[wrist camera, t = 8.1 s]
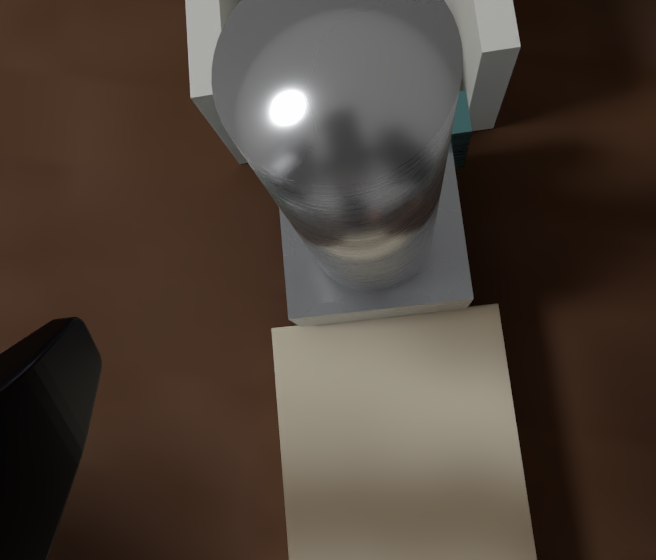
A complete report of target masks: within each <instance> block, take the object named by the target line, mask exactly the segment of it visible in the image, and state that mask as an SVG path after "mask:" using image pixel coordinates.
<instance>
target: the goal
mask: <svg viewBox="0 0 656 560" xmlns="http://www.w3.org/2000/svg"><path fill="white" fill-rule="evenodd" d="M240 1H241V0H185V3H186V22H187V40H188V59H189V77H190V96H191V99H192V100H193V102H194V103H195V105H196V106H197V107H198V109H199V110H200V111H201V113H202V114H203V115H204V117H205V118H206V119H207V121H208V122H209V123H210V125H211V126H212V127H213V129H214V130H215V132H216V133H217V134H218V136H219V137H220V138H221V140H222V141H223V142H224V144H225V145H226V146H227V148H228V149H229V150H230V152H231V153H232V154H233V156H234V157H235V158H236V160H237V161H238V163H239V164H244V163H248V162H247V161H246V159H245V158H244V156H243V155H242V153H241V152H240V151H239V149H238V148H237V146H236V145H235V143H234V142H233V141H232V139H231V138H230V136H229V134H228V133H227V131H226V130H225V128H224V126H223V124H222V122H221V120H220V117H219V115H218V113H217V110H216V106H215V102H214V99H213V92H212V84H211V77H212V62H213V55H214V51H215V48H216V44H217V41H218V38H219V36H220V33H221V31H222V29H223V26H224V24H225V23H226V21H227V19H228V18H229V16H230V14H231V12H232V11H233V10H234V8H235V7H236V6H237V5H238V3H239V2H240ZM444 1H445V2H446V4H447V6H448V7H449V9H450V11H451V13H452V14H453V17H454V19H455V22H456V24H457V27H458V29H459V34H460V38H461V43H462V52H463V69H462V79H461V84H460V90H459V91H462V90H466V93H467V100H468V106H469V113H470V120H471V126H472V131H478V130H485V129H492V128H494V125H495V122H496V119H497V116H498V113H499V110H500V107H501V104H502V101H503V98H504V95H505V92H506V89H507V86H508V83H509V80H510V77H511V74H512V71H513V68H514V65H515V62H516V59H517V56H518V53H519V50H520V47H521V45H520V39H519V34H518V28H517V22H516V16H515V10H514V5H513V0H444Z"/></svg>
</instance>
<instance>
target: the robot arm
mask: <svg viewBox="0 0 656 560" xmlns="http://www.w3.org/2000/svg"><path fill="white" fill-rule="evenodd" d="M101 369H102V361H101V357H100V354H99V352H98V350H97V347H96V345H95V343H94V341H93V339H92V337H91V335H90V333H89V331H88V329H87V327H86V325H85V323H84V322H83V321H82V320H81V319H80V318H77V317H70V318H61V319H55V320H52V321H50V322H48V323H47V324H45V325H44V326H42V327H41V328H39V329H38V330H36V331H35V332H33V333H32V334H30V335H28V336H27V337H25V338H24V339H22V340H21V341H19V342H18V343H16V344H15V345H13V346H12V347H10V348H9V349H7V350H6V351H4V352H2V353H1V354H0V560H47V558H48V555H49V552H50V549H51V546H52V543H53V540H54V537H55V534H56V531H57V528H58V525H59V522H60V520H61V517H62V514H63V511H64V508H65V505H66V502H67V499H68V496H69V493H70V490H71V487H72V484H73V481H74V478H75V475H76V472H77V469H78V467H79V463H80V460H81V457H82V454H83V450H84V446H85V442H86V438H87V434H88V429H89V425H90V420H91V416H92V411H93V407H94V402H95V397H96V393H97V388H98V384H99V379H100V375H101Z"/></svg>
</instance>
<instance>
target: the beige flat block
mask: <svg viewBox="0 0 656 560" xmlns="http://www.w3.org/2000/svg"><path fill="white" fill-rule="evenodd" d="M271 329H272V342H273V355H274V368H275V381H276V394H277V407H278V420H279V434H280V447H281V460H282V473H283V486H284V499H285V512H286V525H287V538H288V551H289V560H537V557H536V550H535V544H534V537H533V531H532V524H531V517H530V511H529V504H528V497H527V491H526V484H525V478H524V471H523V464H522V458H521V451H520V445H519V438H518V431H517V425H516V418H515V411H514V405H513V398H512V392H511V385H510V378H509V372H508V365H507V359H506V352H505V345H504V339H503V332H502V325H501V319H500V312H499V306H498V304H489V305H480V306H471V307H467V308H466V309H459V310H450V311H441V312H432V313H423V314H414V315H405V316H395V317H386V318H377V319H368V320H359V321H350V322H341V323H331V324H322V325H313V326H304V327H300V326H299V325H298V326H289V327H279V328H271Z"/></svg>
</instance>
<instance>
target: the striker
mask: <svg viewBox="0 0 656 560" xmlns="http://www.w3.org/2000/svg"><path fill="white" fill-rule="evenodd" d="M462 69H463V52H462V43H461V38H460V34H459V29H458V27H457V24H456V22H455V19H454V17H453V14H452V13H451V11H450V9H449V7H448V6H447V4H446V2H445V1H444V0H241V1H240V2H239V3H238V5H237V6H236V7H235V8H234V10H233V11H232V12H231V14H230V16H229V18H228V19H227V21H226V23H225V24H224V26H223V29H222V31H221V33H220V36H219V38H218V41H217V44H216V48H215V51H214V55H213V62H212V77H211V84H212V92H213V99H214V102H215V106H216V110H217V113H218V115H219V117H220V120H221V122H222V124H223V126H224V128H225V130H226V131H227V133H228V134H229V136H230V138H231V139H232V141H233V142H234V143H235V145H236V146H237V148H238V149H239V151H240V152H241V153H242V155H243V156H244V158H245V159H246V161H247V162H248V163H249V165H250V166H251V168H252V169H253V171H254V172H255V173H256V175H257V176H258V178H259V179H260V181H261V182H262V183H263V185H264V186H265V188H266V189H267V191H268V192H269V193H270V195H271V196H272V198H273V199H274V201H275V202H276V203H277V205H278V206H279V211H280V223H281V235H282V247H283V259H284V271H285V284H286V296H287V308H288V319H289V320H290V321H292V322H294V323H295V324H297V325H299V326H300V327H304V326H313V325H322V324H331V323H341V322H350V321H359V320H368V319H377V318H386V317H395V316H405V315H414V314H423V313H432V312H441V311H450V310H459V309H466V308H467V307H468V306H469V304H470V303H471V302H472V300H473V299H474V297H473V290H472V283H471V276H470V269H469V262H468V255H467V248H466V241H465V234H464V227H463V220H462V213H461V206H460V199H459V192H458V186H457V179H456V172H455V169H458V168H463V165H464V161H465V157H466V153H467V149H468V146H469V142H470V138H471V134H472V126H471V120H470V113H469V106H468V100H467V93H466V90H462V91H459V90H460V84H461V79H462Z"/></svg>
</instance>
